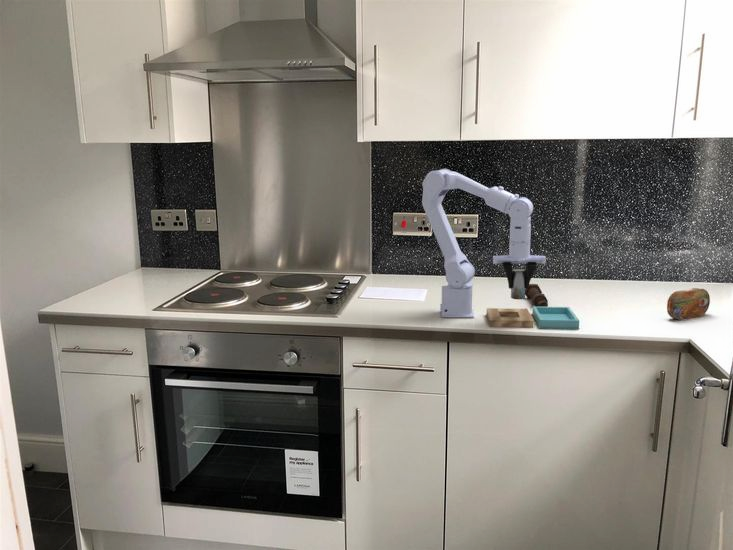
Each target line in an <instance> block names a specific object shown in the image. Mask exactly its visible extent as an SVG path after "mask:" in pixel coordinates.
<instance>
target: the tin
mask: <svg viewBox="0 0 733 550" xmlns="http://www.w3.org/2000/svg"><path fill="white" fill-rule="evenodd" d="M710 302H711V298H710V293H709V292H708V291H707V290H706V289H705V288H698V287H692V288H687V289H683V290H677V291H674V292H672V293H671V294H670V296H669V297H668V299H667V304H666V311H667V315H668V316H669V317H671V318H672V319H675V320H679V321H684V320H685V319H686V320H690V319H694V318H699V317H703V316H704V315H705V314H706V313H707V311H708V310H709V307H710V304H711V303H710ZM686 320H685V321H686Z"/></svg>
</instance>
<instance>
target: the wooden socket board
mask: <svg viewBox="0 0 733 550" xmlns="http://www.w3.org/2000/svg"><path fill="white" fill-rule="evenodd" d="M486 318H487V322H488V325H489V328H528V327H529V328H531V329H532V328H534V319H533V316H532V314H531V313H530V312H529V309H528V308H495V307H494V308H490V307H489V308H488V307H487V308H486Z"/></svg>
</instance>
